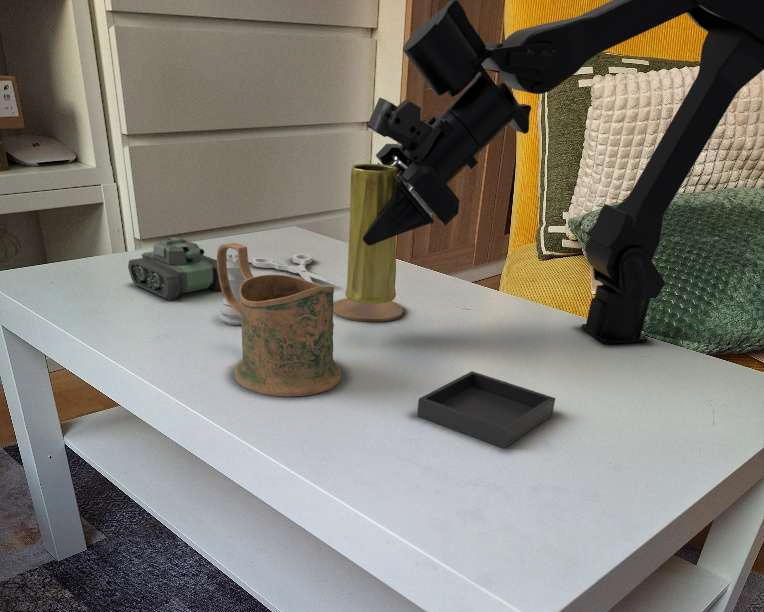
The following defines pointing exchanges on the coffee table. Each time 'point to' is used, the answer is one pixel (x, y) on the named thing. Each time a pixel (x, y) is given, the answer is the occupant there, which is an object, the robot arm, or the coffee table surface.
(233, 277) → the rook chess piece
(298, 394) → the mug
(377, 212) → the vase
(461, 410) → the black tray
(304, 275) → the scissors
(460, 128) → the robot arm
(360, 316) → the coaster
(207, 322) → the coffee table surface
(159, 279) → the toy tank
